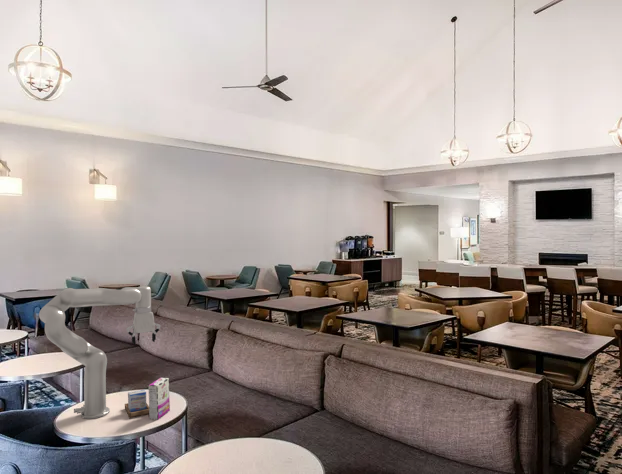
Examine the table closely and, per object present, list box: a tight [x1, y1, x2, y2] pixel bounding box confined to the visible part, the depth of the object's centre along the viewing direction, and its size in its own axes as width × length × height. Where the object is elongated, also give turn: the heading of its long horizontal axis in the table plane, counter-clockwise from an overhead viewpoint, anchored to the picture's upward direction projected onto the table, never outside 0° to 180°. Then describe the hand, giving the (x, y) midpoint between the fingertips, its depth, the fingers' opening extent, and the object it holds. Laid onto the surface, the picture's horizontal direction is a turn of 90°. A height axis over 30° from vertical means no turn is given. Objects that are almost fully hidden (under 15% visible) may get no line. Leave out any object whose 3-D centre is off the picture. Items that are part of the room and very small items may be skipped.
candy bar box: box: [148, 377, 171, 421], centre depth 219 cm, size 11×5×16 cm, turn 168°
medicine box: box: [127, 389, 147, 412], centre depth 223 cm, size 8×4×9 cm, turn 121°
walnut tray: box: [124, 402, 149, 420], centre depth 223 cm, size 10×14×2 cm
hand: (143, 342), depth 238 cm, fingers open, 9 cm apart
